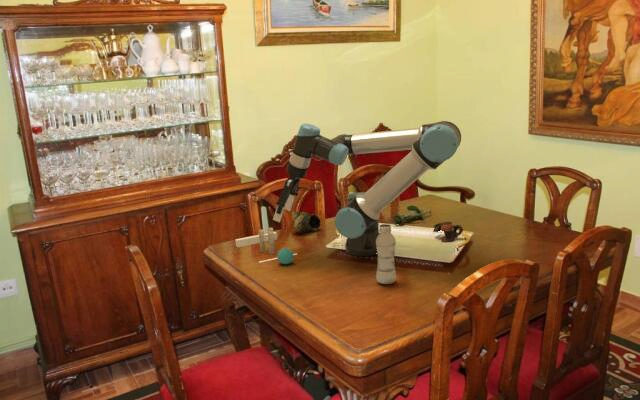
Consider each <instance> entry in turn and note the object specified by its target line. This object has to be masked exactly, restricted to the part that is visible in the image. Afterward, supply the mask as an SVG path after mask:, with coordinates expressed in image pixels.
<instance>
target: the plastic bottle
mask: <svg viewBox="0 0 640 400" xmlns="http://www.w3.org/2000/svg"><path fill="white" fill-rule="evenodd" d="M379 233H380V234H379V235H378V237H377V238H376V247H377V254H376V255H377V266H376V267H377V269H376V275H375V277H376V281H377V283H379V284H380V285H392V284H393V283H395V281H396V278H397V272H396V267H395V250H396V244H397V243H396V237H395V236H394V234H393V233H392V226H391V224H389V223H388V224H387V223H384V224H380V225H379Z"/></svg>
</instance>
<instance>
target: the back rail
mask: <svg viewBox="0 0 640 400" xmlns="http://www.w3.org/2000/svg"><path fill="white" fill-rule="evenodd" d="M273 235H274V241H276V240H278V232H276V231H273ZM264 240H265V243H266V242H268V232H265V233H264ZM234 242H235V247H236V248H243V247H246V246H251V245H252V246H253V245H257V244H260V240H259V234H257V235H251V236H246V237H242V238H235V241H234Z"/></svg>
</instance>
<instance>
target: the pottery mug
mask: <svg viewBox="0 0 640 400" xmlns="http://www.w3.org/2000/svg"><path fill="white" fill-rule="evenodd" d="M433 227H434V228H433V231H432V234H433V233H439V232H438V231H440V230H442V231H444V235H443V236H440V240H441V243H446V242H455V241H456V239H457V238H458V237H459V236H461V235H462V234H463V231H464V229H463V226H462V225H460V224H456V225H453V222H452V221H444V222H439V223H436V224H434V225H433ZM458 229H459V231H458ZM457 231H458V232H457ZM454 240H455V241H454Z"/></svg>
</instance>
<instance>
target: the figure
mask: <svg viewBox="0 0 640 400" xmlns="http://www.w3.org/2000/svg"><path fill="white" fill-rule="evenodd" d="M406 209H407V211H408V213H403V214H402V212H400V211H396V214H397V215H395V216H393V218H392V221H391V222H393V224H394V225H395V224H399V225H401V226H402V225H403V221H405V222H409V221H410V220H411V219H414V218H417V220H423V219H424V218H425V216H426V215H427V214H429V215H431V214H432V210H431V209H429V210H426V211H424V209H423V208H421V209H419V208H418V206H415V205H412V204H411V205H408V206H407V207H406Z"/></svg>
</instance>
